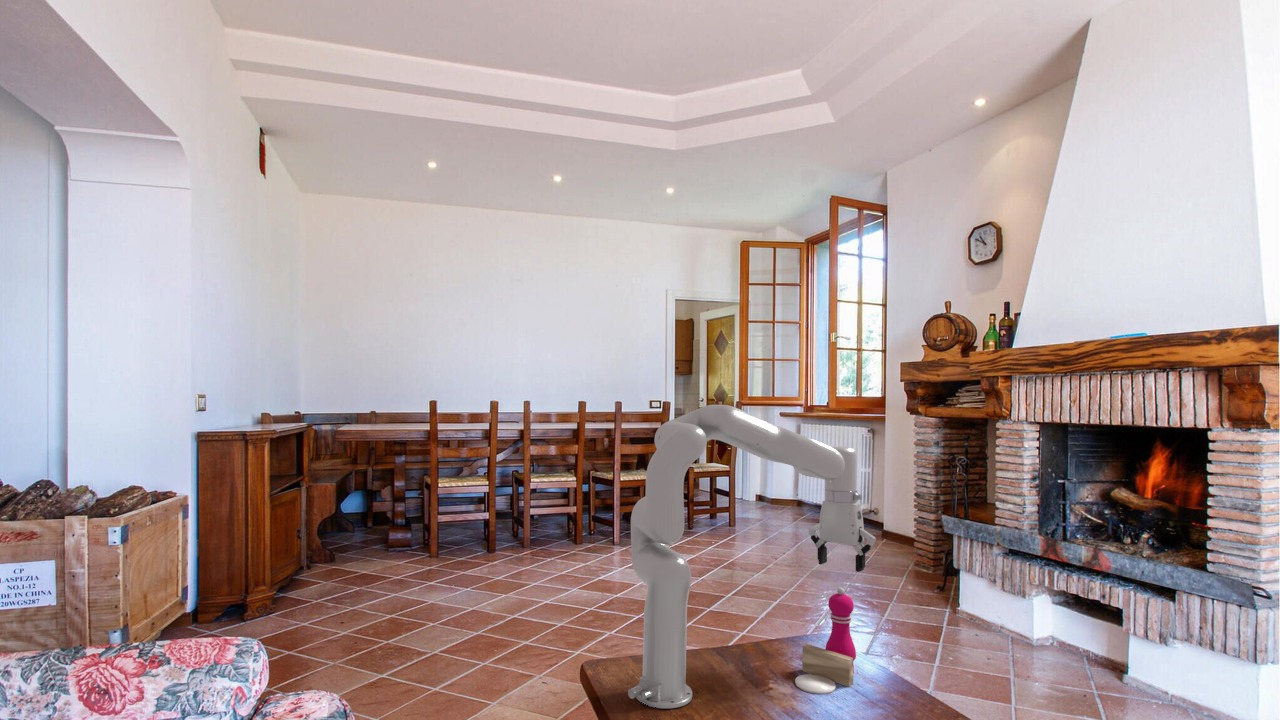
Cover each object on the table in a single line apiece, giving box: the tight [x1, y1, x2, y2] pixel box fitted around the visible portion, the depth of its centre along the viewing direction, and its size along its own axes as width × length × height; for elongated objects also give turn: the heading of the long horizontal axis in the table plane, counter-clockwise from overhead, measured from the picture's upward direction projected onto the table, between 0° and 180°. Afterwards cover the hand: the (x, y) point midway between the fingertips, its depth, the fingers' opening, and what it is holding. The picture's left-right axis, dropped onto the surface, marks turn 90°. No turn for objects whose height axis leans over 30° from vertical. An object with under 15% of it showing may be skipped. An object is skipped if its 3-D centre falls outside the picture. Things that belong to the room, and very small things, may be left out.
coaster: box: [794, 673, 836, 695], centre depth 151 cm, size 9×9×1 cm
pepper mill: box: [824, 587, 857, 674], centre depth 160 cm, size 7×7×20 cm
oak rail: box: [801, 643, 854, 688], centre depth 155 cm, size 2×12×6 cm, turn 47°
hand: (840, 567), depth 160 cm, fingers open, 9 cm apart
